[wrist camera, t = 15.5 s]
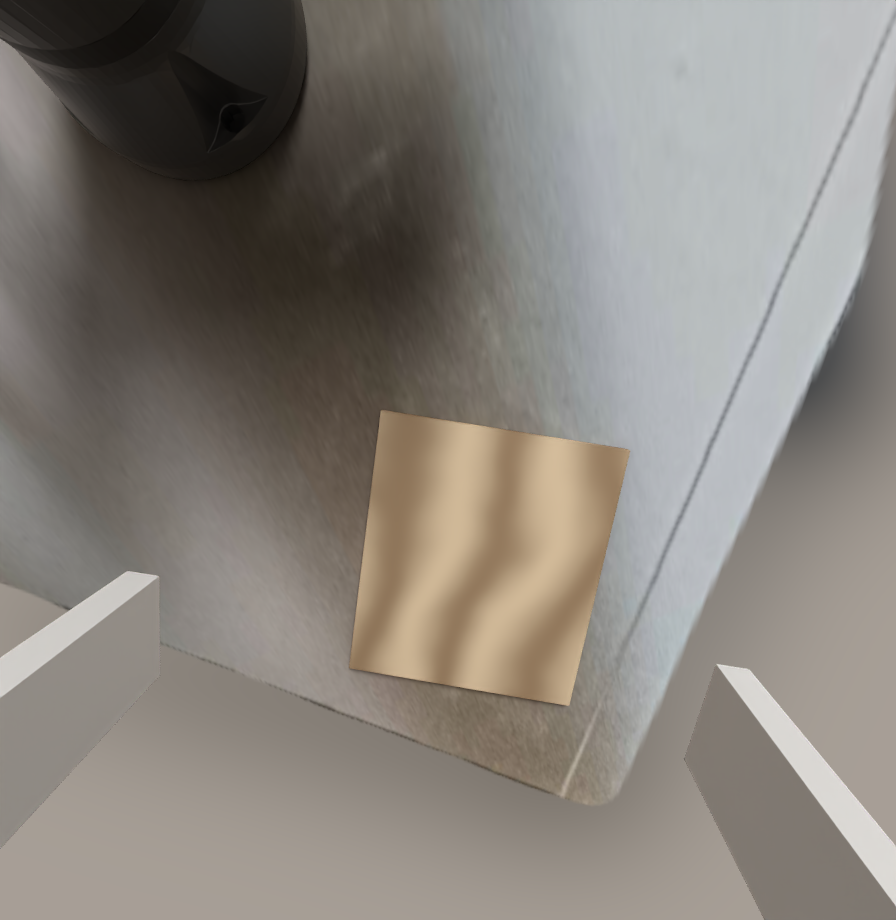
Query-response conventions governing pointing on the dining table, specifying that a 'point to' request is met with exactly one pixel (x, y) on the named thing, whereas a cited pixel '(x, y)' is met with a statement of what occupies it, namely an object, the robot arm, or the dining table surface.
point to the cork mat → (483, 555)
